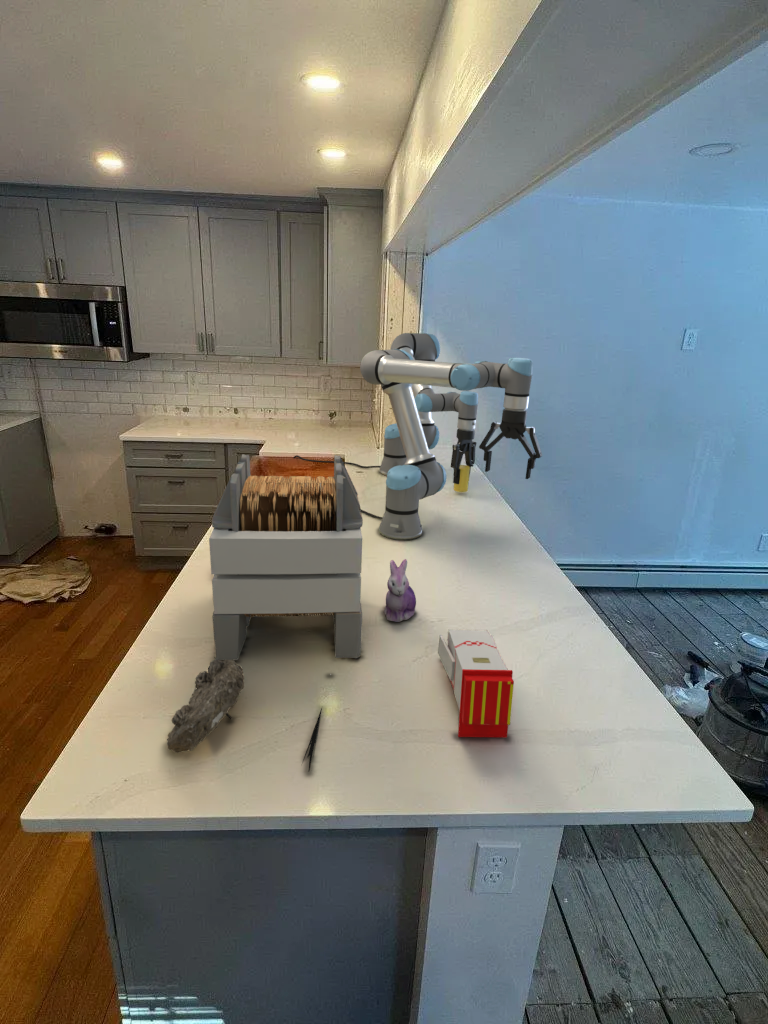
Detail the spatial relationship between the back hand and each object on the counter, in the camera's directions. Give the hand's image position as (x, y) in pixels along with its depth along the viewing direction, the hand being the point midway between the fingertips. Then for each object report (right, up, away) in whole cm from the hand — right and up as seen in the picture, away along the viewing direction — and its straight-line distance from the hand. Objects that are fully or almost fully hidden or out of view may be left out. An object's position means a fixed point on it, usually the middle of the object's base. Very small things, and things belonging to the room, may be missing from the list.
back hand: (461, 481), depth 245 cm
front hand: (+7, -1, -61) cm, 61 cm away
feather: (-46, -53, -137) cm, 153 cm away
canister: (0, -4, +1) cm, 4 cm away
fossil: (-66, -52, -137) cm, 161 cm away
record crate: (-56, -41, -104) cm, 125 cm away
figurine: (-29, -40, -98) cm, 110 cm away
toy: (-15, -51, -127) cm, 137 cm away
